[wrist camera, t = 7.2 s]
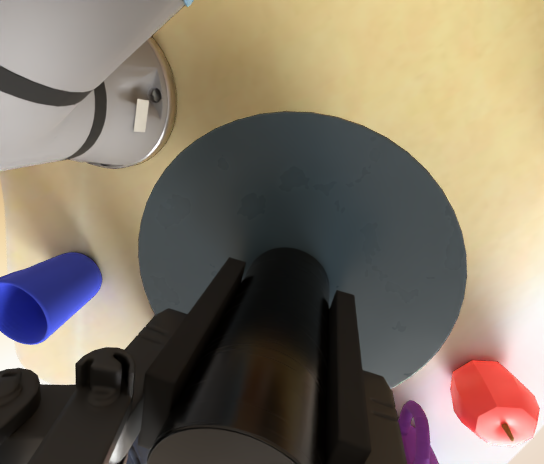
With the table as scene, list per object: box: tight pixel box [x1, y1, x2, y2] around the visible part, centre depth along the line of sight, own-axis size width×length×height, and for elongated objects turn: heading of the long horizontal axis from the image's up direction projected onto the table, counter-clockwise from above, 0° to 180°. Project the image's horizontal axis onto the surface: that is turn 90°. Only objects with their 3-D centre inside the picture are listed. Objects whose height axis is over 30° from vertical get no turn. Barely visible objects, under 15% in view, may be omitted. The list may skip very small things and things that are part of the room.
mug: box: [0, 252, 102, 345], centre depth 39 cm, size 8×12×10 cm
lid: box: [138, 111, 467, 464], centre depth 11 cm, size 16×16×10 cm
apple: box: [450, 360, 540, 447], centre depth 34 cm, size 8×8×8 cm
